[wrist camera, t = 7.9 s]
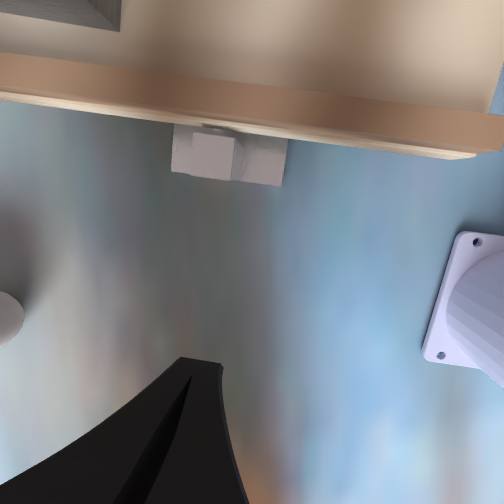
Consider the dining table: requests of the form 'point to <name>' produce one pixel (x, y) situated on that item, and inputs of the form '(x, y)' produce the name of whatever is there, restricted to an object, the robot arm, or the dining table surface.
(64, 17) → the rider
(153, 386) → the robot arm
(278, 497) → the dining table surface
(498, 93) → the dining table surface
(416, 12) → the beam
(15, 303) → the donut
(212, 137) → the pivot stand
